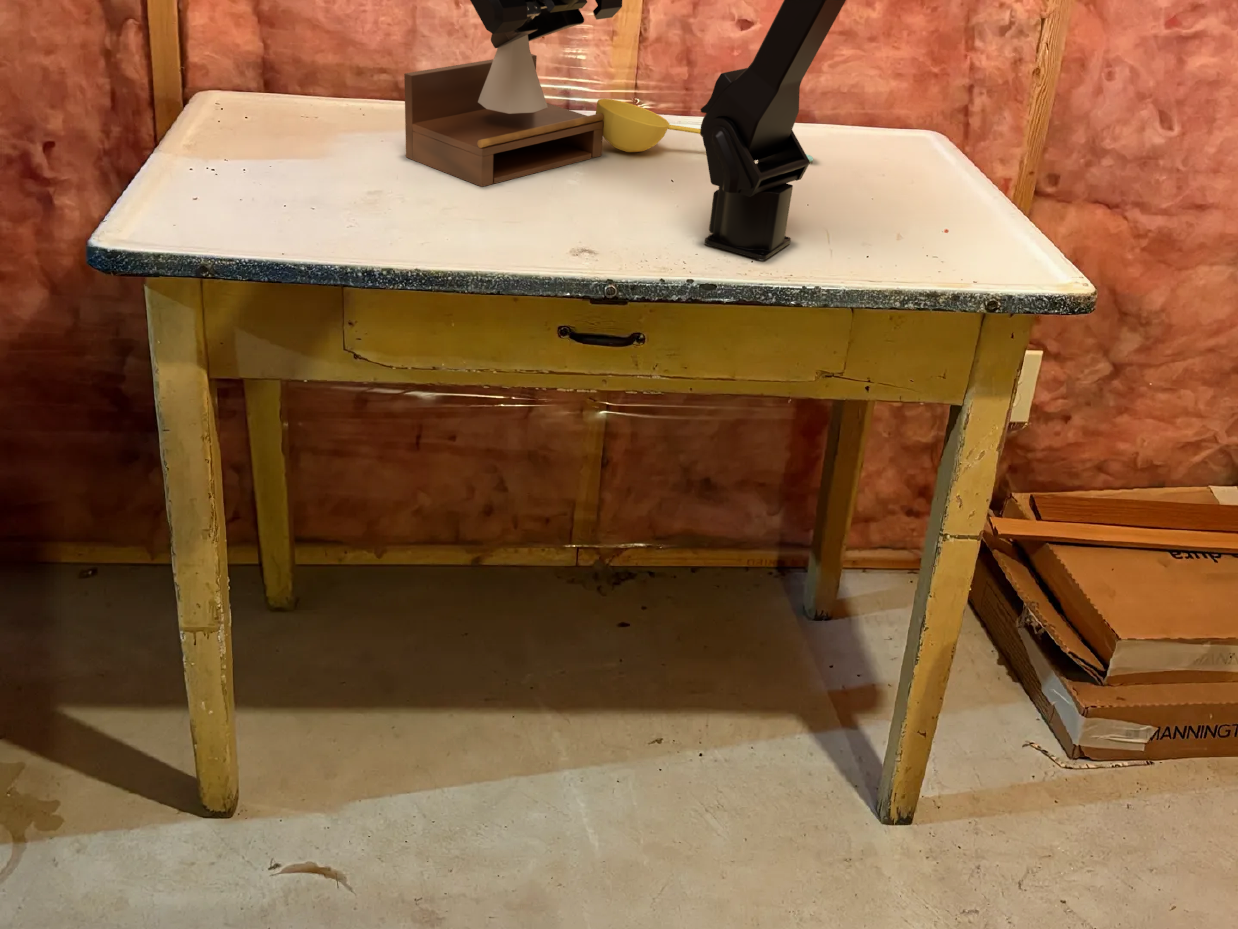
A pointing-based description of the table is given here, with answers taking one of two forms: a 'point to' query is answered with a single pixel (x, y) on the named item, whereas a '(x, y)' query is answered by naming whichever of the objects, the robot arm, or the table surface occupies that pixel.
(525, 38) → the flask
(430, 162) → the spice rack
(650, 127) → the ladle
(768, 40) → the robot arm
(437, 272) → the table surface
